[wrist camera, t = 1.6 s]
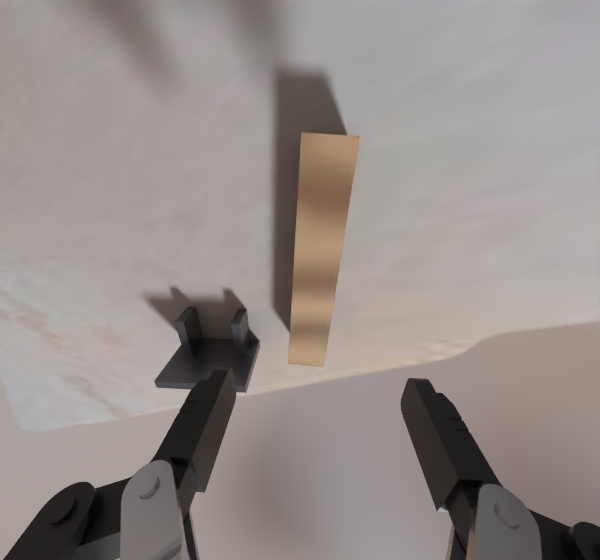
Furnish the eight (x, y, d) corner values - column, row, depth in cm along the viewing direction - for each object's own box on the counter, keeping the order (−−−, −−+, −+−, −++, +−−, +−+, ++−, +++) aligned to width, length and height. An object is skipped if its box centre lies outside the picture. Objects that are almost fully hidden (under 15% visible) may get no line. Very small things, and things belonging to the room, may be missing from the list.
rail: (304, 140, 20) (301, 132, 15) (349, 143, 20) (359, 136, 15) (292, 334, 30) (288, 363, 25) (322, 336, 30) (323, 366, 25)
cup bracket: (178, 306, 28) (140, 346, 22) (256, 310, 28) (239, 351, 22) (188, 343, 31) (156, 387, 25) (259, 346, 31) (246, 392, 24)
